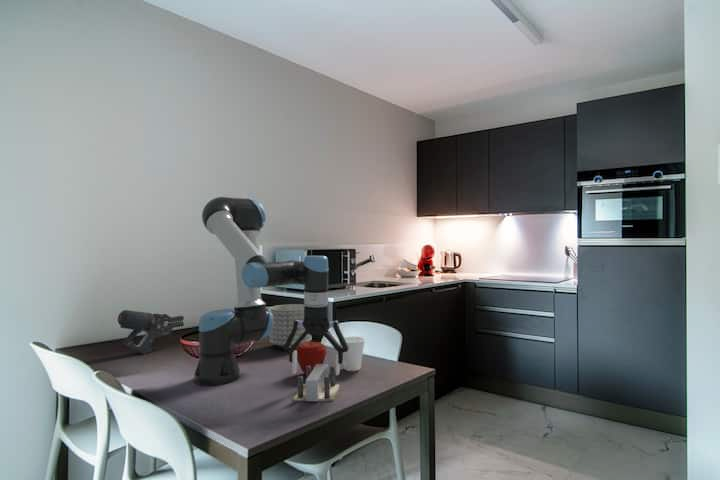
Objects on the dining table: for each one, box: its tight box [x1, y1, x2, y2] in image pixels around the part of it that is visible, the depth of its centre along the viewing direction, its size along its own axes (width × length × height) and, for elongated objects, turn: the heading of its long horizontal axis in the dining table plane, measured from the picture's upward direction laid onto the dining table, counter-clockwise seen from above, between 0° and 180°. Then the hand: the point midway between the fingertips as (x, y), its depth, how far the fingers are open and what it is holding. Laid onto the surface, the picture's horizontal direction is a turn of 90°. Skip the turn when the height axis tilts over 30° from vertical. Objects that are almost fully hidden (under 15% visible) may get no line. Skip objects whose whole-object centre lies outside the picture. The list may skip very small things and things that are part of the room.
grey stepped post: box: [305, 363, 330, 402], centre depth 128 cm, size 17×4×6 cm, turn 175°
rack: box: [292, 365, 340, 402], centre depth 128 cm, size 12×13×7 cm
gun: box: [117, 309, 185, 355], centre depth 184 cm, size 7×28×20 cm, turn 144°
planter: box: [268, 303, 313, 349], centre depth 189 cm, size 19×19×18 cm
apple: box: [295, 340, 327, 375], centre depth 147 cm, size 11×11×12 cm
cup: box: [338, 336, 366, 372], centre depth 153 cm, size 10×10×11 cm
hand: (316, 373), depth 129 cm, fingers open, 13 cm apart
